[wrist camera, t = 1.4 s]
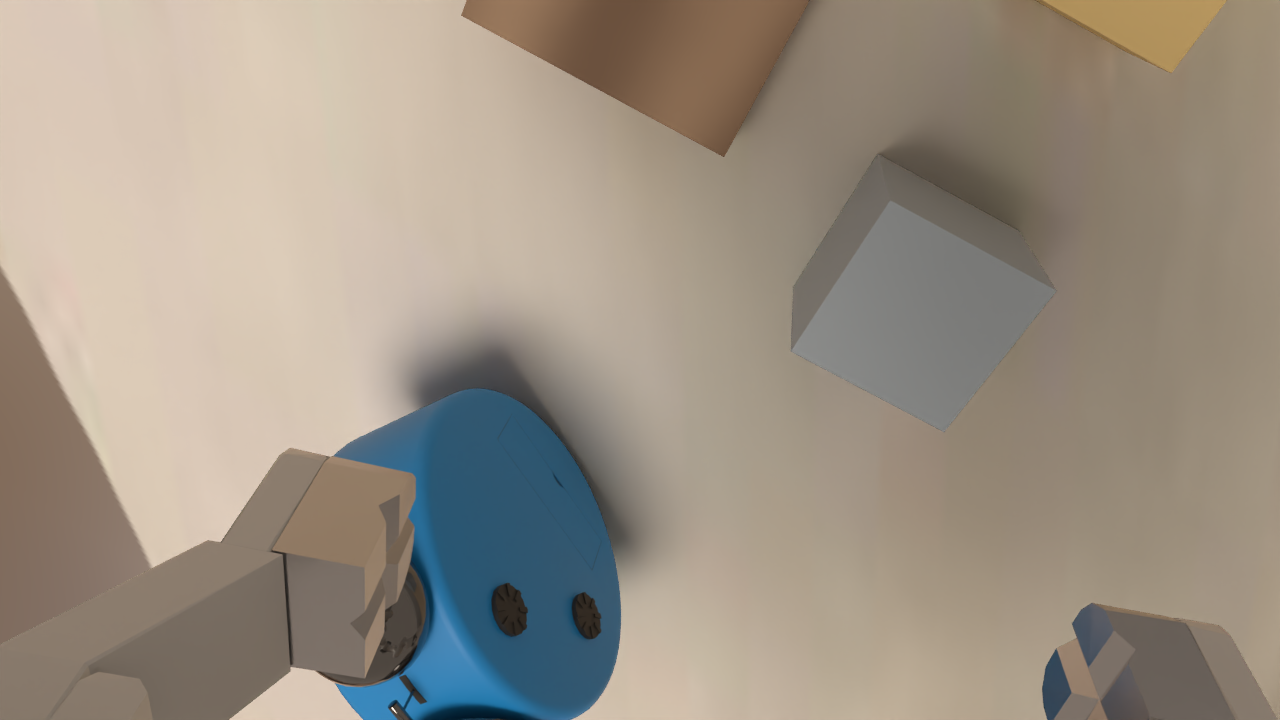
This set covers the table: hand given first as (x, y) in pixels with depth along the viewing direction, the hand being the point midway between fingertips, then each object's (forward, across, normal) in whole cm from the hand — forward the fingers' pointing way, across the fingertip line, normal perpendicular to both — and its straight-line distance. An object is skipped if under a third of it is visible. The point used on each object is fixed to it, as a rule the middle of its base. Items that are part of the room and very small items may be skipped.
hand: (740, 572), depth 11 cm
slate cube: (+25, +8, -7) cm, 27 cm away
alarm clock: (+24, -6, -20) cm, 32 cm away
